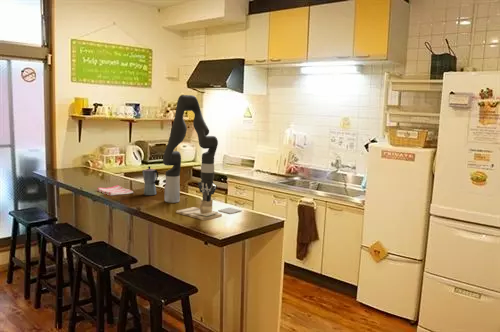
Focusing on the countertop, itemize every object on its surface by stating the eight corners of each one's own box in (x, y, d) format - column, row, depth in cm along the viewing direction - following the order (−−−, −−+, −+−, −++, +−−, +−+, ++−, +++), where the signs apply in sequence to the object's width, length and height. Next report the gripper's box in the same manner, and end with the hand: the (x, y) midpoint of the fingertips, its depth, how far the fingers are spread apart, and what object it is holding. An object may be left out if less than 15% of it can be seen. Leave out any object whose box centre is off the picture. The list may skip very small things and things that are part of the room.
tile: (206, 214, 235) (206, 216, 235) (217, 211, 242) (217, 213, 242) (193, 212, 242) (193, 213, 242) (204, 209, 249) (204, 211, 249)
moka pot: (147, 192, 304) (147, 164, 302) (163, 194, 297) (163, 166, 294) (137, 194, 296) (137, 166, 294) (154, 197, 288) (154, 168, 286)
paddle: (200, 212, 240) (200, 192, 238) (208, 210, 245) (209, 190, 243) (203, 213, 238) (204, 192, 236) (212, 211, 243) (212, 191, 242)
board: (175, 212, 248) (175, 210, 248) (193, 208, 259) (193, 206, 259) (204, 220, 233) (204, 218, 233) (221, 216, 244) (221, 213, 243)
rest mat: (218, 211, 255) (218, 210, 255) (229, 208, 263) (229, 207, 263) (230, 214, 249) (230, 213, 249) (241, 211, 256) (241, 210, 256)
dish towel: (118, 189, 315) (118, 184, 315) (133, 194, 298) (133, 189, 298) (96, 191, 304) (96, 186, 303) (110, 197, 287) (110, 192, 286)
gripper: (194, 170, 239) (193, 199, 242) (211, 173, 231) (210, 204, 233) (203, 168, 245) (202, 197, 248) (221, 172, 236) (220, 202, 239)
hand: (206, 200), depth 240 cm, fingers closed on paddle, 2 cm apart
